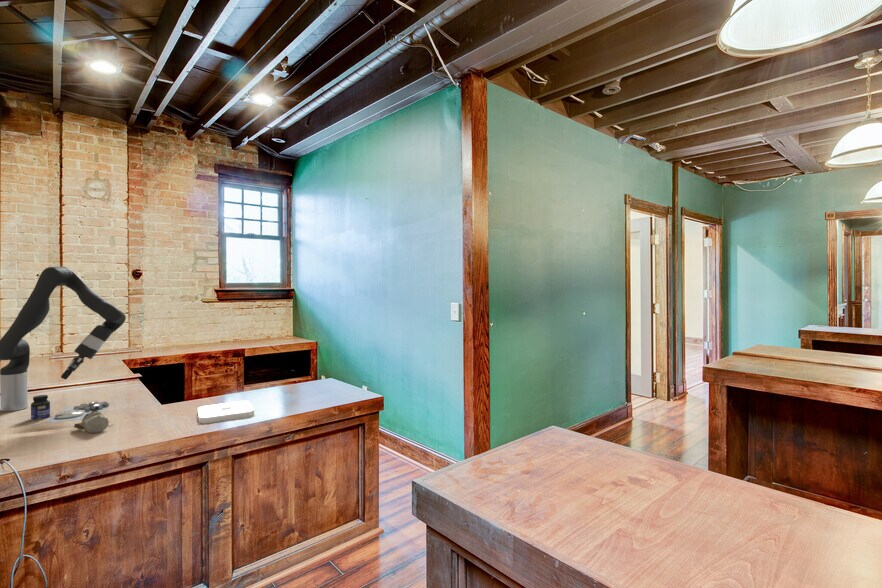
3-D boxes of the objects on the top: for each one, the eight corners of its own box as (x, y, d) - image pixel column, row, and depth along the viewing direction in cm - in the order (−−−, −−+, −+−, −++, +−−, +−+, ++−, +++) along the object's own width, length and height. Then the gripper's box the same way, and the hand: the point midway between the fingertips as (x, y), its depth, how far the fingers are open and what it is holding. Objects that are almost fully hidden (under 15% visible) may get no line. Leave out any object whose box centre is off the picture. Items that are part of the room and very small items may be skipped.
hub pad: (59, 414, 191) (59, 411, 191) (88, 411, 196) (88, 408, 196) (51, 420, 182) (51, 417, 182) (81, 417, 187) (81, 414, 187)
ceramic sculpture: (81, 414, 165) (72, 410, 175) (81, 437, 165) (72, 431, 174) (115, 408, 174) (104, 404, 183) (115, 430, 173) (105, 425, 183)
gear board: (65, 411, 200) (65, 408, 200) (110, 407, 208) (110, 404, 208) (45, 426, 179) (45, 422, 179) (96, 420, 186) (96, 417, 186)
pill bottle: (38, 424, 182) (37, 398, 182) (27, 423, 183) (26, 397, 183) (54, 419, 188) (53, 394, 188) (43, 418, 189) (42, 394, 189)
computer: (255, 416, 192) (255, 410, 192) (198, 425, 181) (198, 418, 181) (248, 405, 211) (248, 400, 211) (197, 412, 200) (197, 406, 200)
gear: (78, 406, 203) (78, 400, 203) (111, 403, 209) (111, 397, 209) (69, 413, 192) (69, 407, 192) (104, 409, 198) (104, 404, 198)
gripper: (80, 342, 202) (54, 373, 195) (81, 342, 191) (53, 374, 184) (97, 350, 206) (71, 381, 198) (99, 350, 195) (72, 383, 188)
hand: (63, 378), depth 191 cm, fingers open, 8 cm apart
